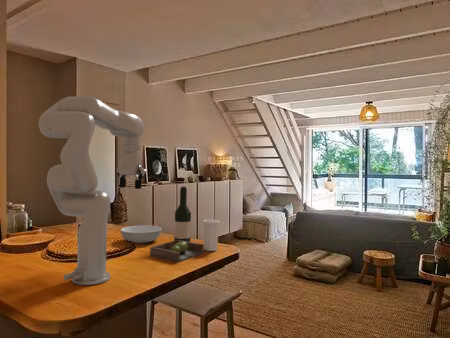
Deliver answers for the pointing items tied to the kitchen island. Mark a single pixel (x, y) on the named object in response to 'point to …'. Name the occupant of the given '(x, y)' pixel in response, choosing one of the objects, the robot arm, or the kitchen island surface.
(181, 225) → the wine bottle
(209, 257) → the kitchen island surface
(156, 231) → the serving bowl
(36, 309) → the kitchen island surface
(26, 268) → the kitchen island surface
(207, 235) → the cup
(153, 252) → the tray
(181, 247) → the pear
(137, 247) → the kitchen island surface
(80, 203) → the robot arm
